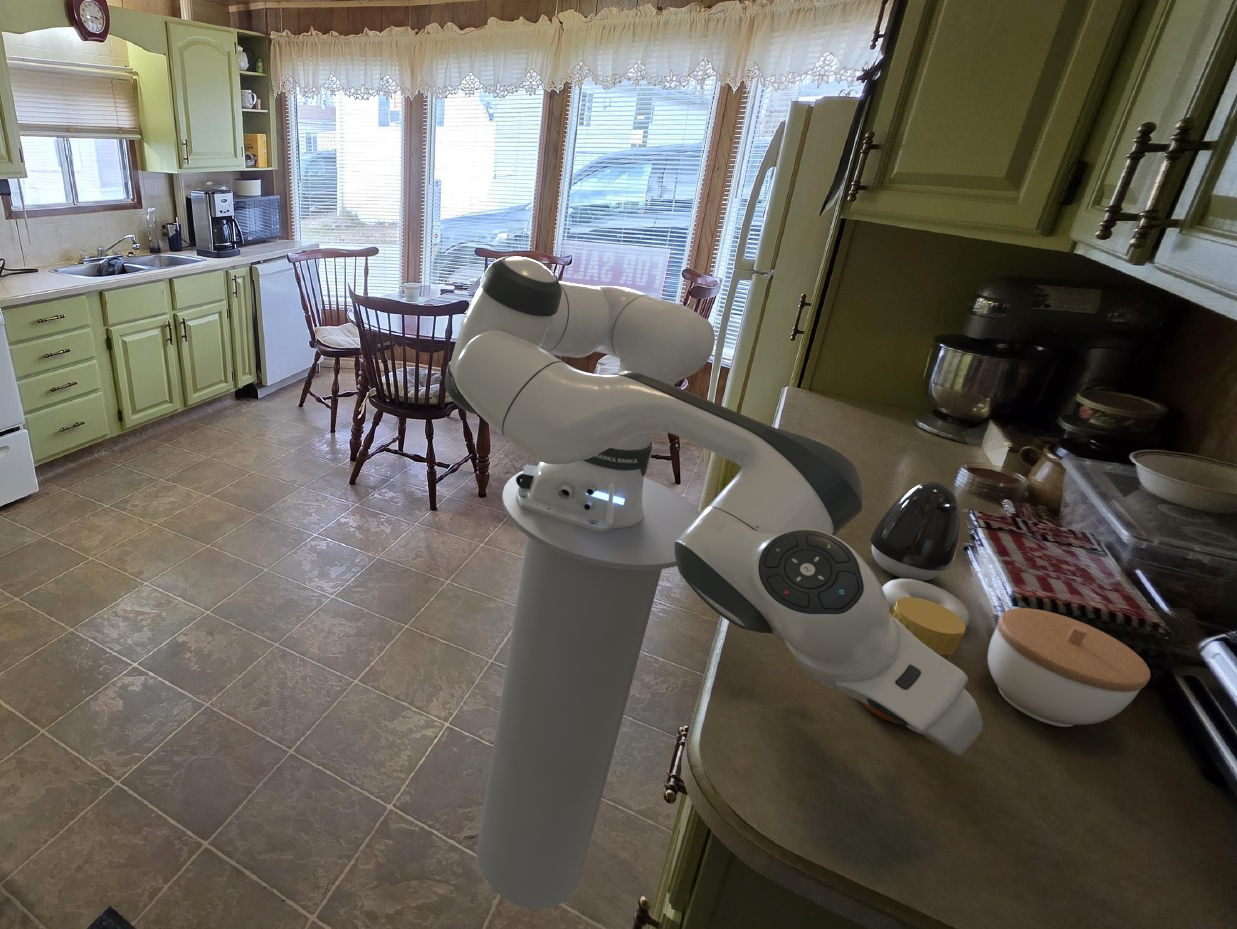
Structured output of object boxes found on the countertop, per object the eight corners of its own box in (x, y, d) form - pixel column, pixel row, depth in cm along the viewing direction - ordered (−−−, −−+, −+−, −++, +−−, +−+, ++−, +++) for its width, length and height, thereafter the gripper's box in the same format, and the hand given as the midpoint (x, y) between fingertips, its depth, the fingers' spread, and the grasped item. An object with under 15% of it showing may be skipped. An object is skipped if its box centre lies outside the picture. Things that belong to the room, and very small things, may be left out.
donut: (953, 607, 97) (872, 584, 101) (964, 588, 95) (881, 565, 99) (971, 649, 89) (881, 622, 93) (982, 629, 87) (891, 602, 91)
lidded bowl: (992, 652, 88) (1029, 582, 84) (1124, 718, 78) (1174, 644, 74) (952, 687, 82) (990, 614, 77) (1091, 764, 72) (1143, 686, 68)
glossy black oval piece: (877, 583, 101) (914, 494, 95) (853, 546, 110) (886, 464, 104) (955, 597, 99) (999, 507, 93) (924, 559, 108) (962, 475, 102)
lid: (895, 645, 73) (905, 623, 72) (879, 611, 78) (888, 590, 77) (965, 662, 71) (976, 640, 70) (944, 626, 76) (954, 605, 75)
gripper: (723, 601, 71) (756, 646, 80) (941, 745, 55) (954, 784, 63) (762, 556, 72) (791, 606, 80) (990, 687, 55) (997, 733, 64)
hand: (865, 686), depth 72 cm, fingers open, 8 cm apart
